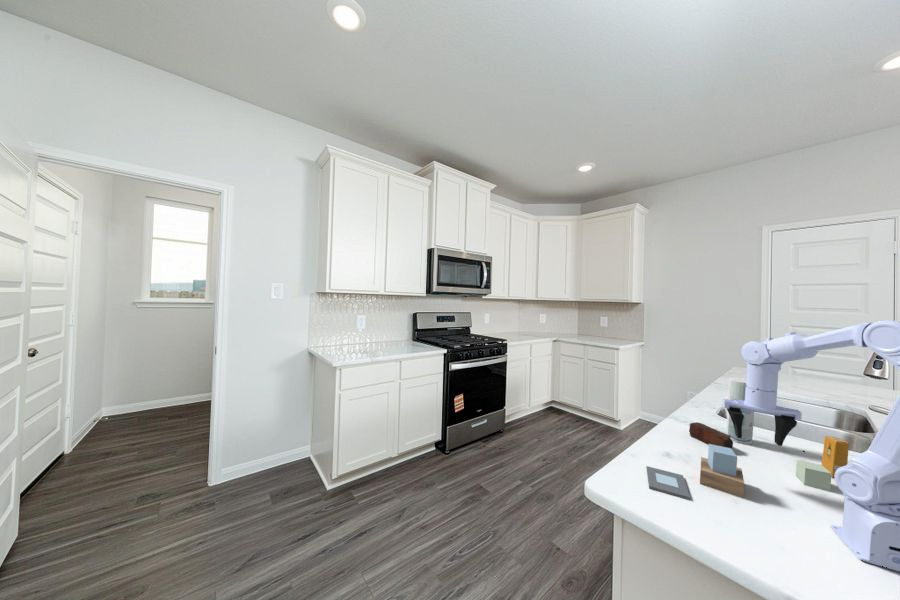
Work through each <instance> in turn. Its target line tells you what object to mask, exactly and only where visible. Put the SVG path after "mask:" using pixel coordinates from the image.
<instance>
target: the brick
mask: <svg viewBox="0 0 900 600" xmlns="http://www.w3.org/2000/svg"><path fill="white" fill-rule="evenodd" d="M688 432H689V436H690V437H691V438H693V439H695V440H698V441H700V442H701V441H702V443H703V442H704V444H706V445H708V446H709V444H712V445H717V446H722V447H727V448H731V449H732V450H733V446H734V441H732V440H731V438H730V436H729V435H727V433H726V432H723V431H720V430H717V429H715V428H713V427H710V426H708V425H706V424H704V423H702V422H691V423H690V424H689V430H688Z"/></svg>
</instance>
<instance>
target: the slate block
mask: <svg viewBox="0 0 900 600" xmlns="http://www.w3.org/2000/svg"><path fill="white" fill-rule="evenodd" d="M707 459H708V464H709V466H710V468H711V470H712V471H714V472H718V473H722V474H726V475H731V476H735V477H736V469H737V467H738V455H736V453H735V451H734V450H733V448H732V449H731V448H727V447H722V446H717V445H712V444H709V445H708V452H707Z"/></svg>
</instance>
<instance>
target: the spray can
mask: <svg viewBox="0 0 900 600" xmlns="http://www.w3.org/2000/svg"><path fill="white" fill-rule="evenodd" d="M745 391H746V378H743V377H733V376H732V377H729V379H728V394H727V396H728V398H727V399H728V400H741V401H745ZM741 411H742V414H743V415H744V418H743V423H742V437H741V438H738V437H737V436H736V435H735V429H734V425H733V422H732V419H731V417H730V415H729V413H728V412H727V415H726V419H727V421H726V434H727V435H729V436H730V438H731V440H732V441H733V443H737V444H741V443H742V444H741V445H747V444H749V445H752V444H753V435H754V434H753V433H754V424H755V423H754V422H755V412H751V411H745V410H741ZM751 443H752V444H751Z"/></svg>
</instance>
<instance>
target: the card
mask: <svg viewBox="0 0 900 600" xmlns="http://www.w3.org/2000/svg"><path fill="white" fill-rule="evenodd" d="M646 473H647V474H646V475H647V482H648V489H650V490H655V491H657V492H660V493H664V494H667V495H670V496H675V497H678V498H682V499H685V500H689V501H691V495H690V493H689V490H688V487H687V484H686V481H685V477H684V475H683V474H679V473H675V472H671V471H667V470H664V469H661V468H657V467H653V466H648V465H646Z"/></svg>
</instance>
